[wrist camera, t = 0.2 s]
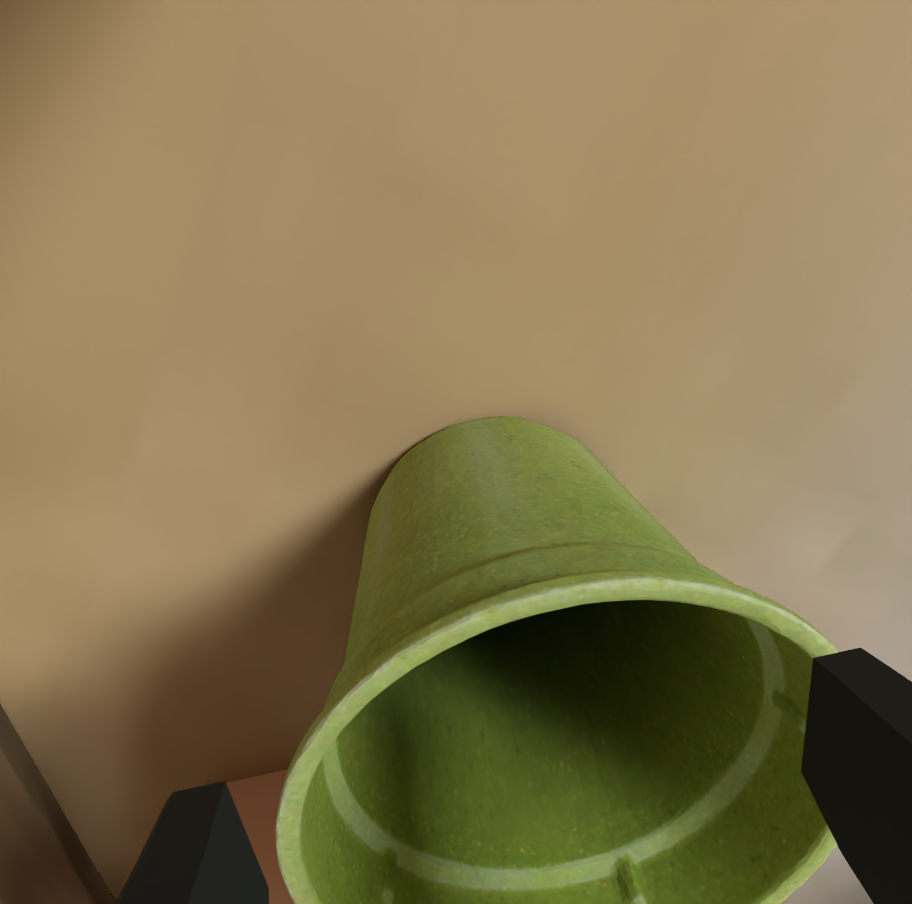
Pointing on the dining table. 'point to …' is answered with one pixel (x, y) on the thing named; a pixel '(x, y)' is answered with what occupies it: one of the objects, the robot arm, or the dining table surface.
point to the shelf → (38, 837)
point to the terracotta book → (262, 825)
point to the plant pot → (549, 701)
